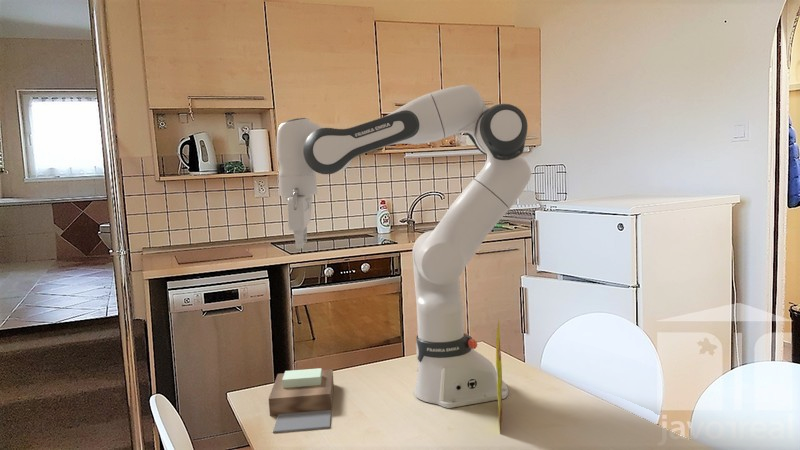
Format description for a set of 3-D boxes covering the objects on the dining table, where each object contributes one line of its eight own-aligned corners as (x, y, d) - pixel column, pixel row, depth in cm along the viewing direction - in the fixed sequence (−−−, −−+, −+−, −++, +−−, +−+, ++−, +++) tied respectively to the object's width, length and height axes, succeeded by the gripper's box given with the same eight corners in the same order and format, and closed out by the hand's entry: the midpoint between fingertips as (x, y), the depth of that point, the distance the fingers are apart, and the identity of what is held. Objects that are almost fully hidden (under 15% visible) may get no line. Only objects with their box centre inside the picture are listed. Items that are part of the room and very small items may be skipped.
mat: (331, 411, 131) (331, 409, 131) (329, 428, 123) (329, 426, 123) (278, 415, 130) (278, 414, 130) (273, 432, 122) (273, 431, 122)
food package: (502, 434, 116) (499, 338, 114) (496, 434, 116) (493, 338, 114) (504, 403, 131) (501, 317, 129) (499, 402, 131) (496, 317, 129)
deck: (333, 384, 147) (332, 369, 147) (331, 410, 132) (330, 393, 131) (278, 388, 146) (277, 373, 146) (269, 415, 130) (268, 398, 130)
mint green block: (322, 375, 143) (321, 368, 143) (320, 384, 137) (320, 376, 137) (285, 378, 142) (285, 371, 142) (282, 387, 136) (282, 379, 136)
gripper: (308, 188, 126) (312, 250, 127) (313, 186, 146) (317, 239, 147) (279, 190, 125) (283, 252, 126) (289, 187, 145) (292, 240, 147)
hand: (301, 245), depth 137 cm, fingers open, 8 cm apart
